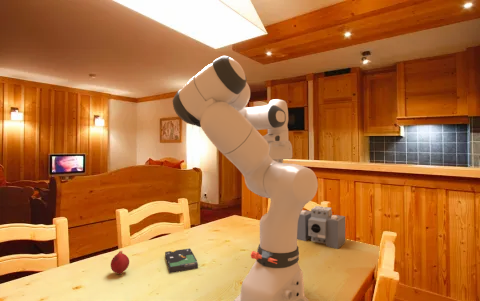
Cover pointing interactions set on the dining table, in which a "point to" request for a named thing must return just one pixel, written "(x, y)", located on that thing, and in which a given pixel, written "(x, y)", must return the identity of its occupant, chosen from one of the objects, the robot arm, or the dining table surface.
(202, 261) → the dining table surface
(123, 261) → the onion
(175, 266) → the disk drive
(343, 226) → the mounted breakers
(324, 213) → the circuit breaker
